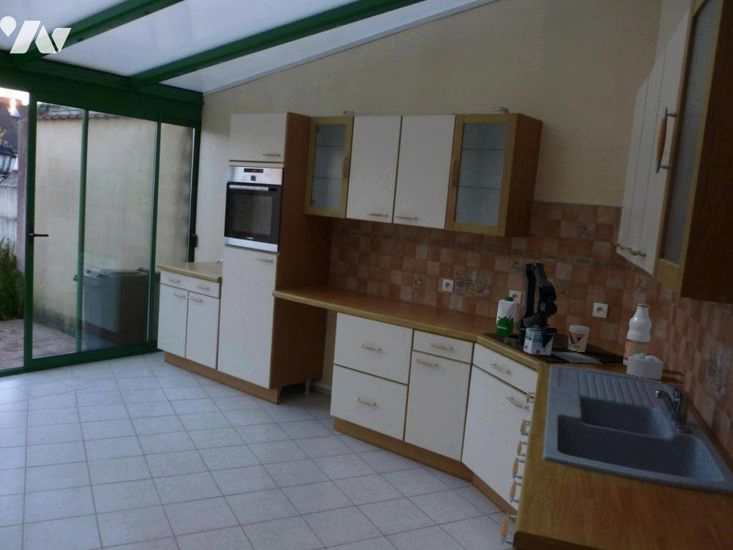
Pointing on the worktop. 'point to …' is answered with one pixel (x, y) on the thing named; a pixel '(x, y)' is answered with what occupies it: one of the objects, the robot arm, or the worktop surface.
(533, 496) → the worktop surface
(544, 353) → the light bulb box
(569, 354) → the mat
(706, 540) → the worktop surface
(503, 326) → the milk carton
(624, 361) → the fruit juice
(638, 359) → the lumpy-topped squat cylinder
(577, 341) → the coffee cup
